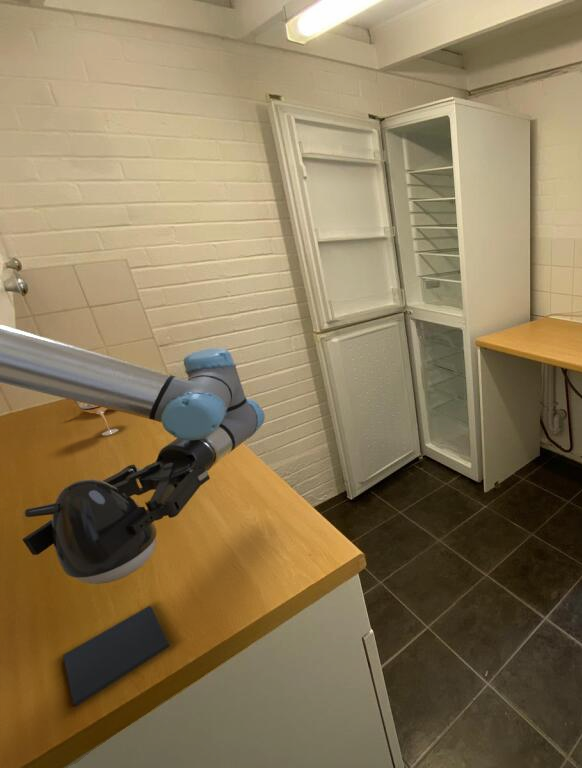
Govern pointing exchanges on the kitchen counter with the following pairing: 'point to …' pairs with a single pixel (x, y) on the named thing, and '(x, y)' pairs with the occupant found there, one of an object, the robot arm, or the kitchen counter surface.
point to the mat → (113, 654)
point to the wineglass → (98, 410)
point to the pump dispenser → (94, 531)
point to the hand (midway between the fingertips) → (65, 548)
